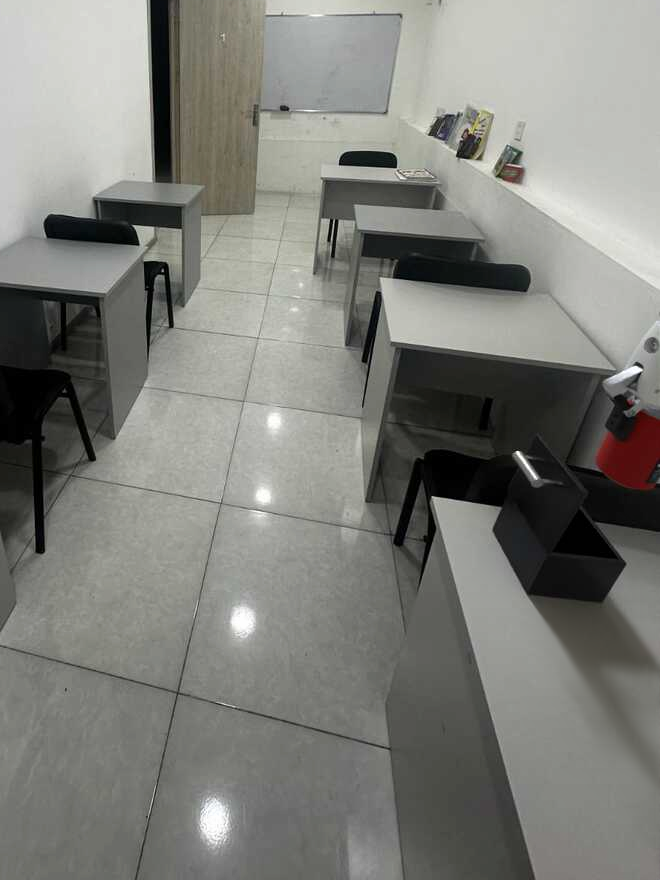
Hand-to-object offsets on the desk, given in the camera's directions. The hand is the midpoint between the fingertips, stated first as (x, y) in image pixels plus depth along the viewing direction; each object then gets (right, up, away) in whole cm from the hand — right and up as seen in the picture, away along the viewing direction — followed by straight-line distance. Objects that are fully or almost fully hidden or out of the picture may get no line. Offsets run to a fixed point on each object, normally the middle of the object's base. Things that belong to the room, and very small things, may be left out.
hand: (643, 435), depth 65 cm
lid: (-3, -14, +14) cm, 20 cm away
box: (+1, -30, +21) cm, 36 cm away
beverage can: (0, -7, +3) cm, 7 cm away
